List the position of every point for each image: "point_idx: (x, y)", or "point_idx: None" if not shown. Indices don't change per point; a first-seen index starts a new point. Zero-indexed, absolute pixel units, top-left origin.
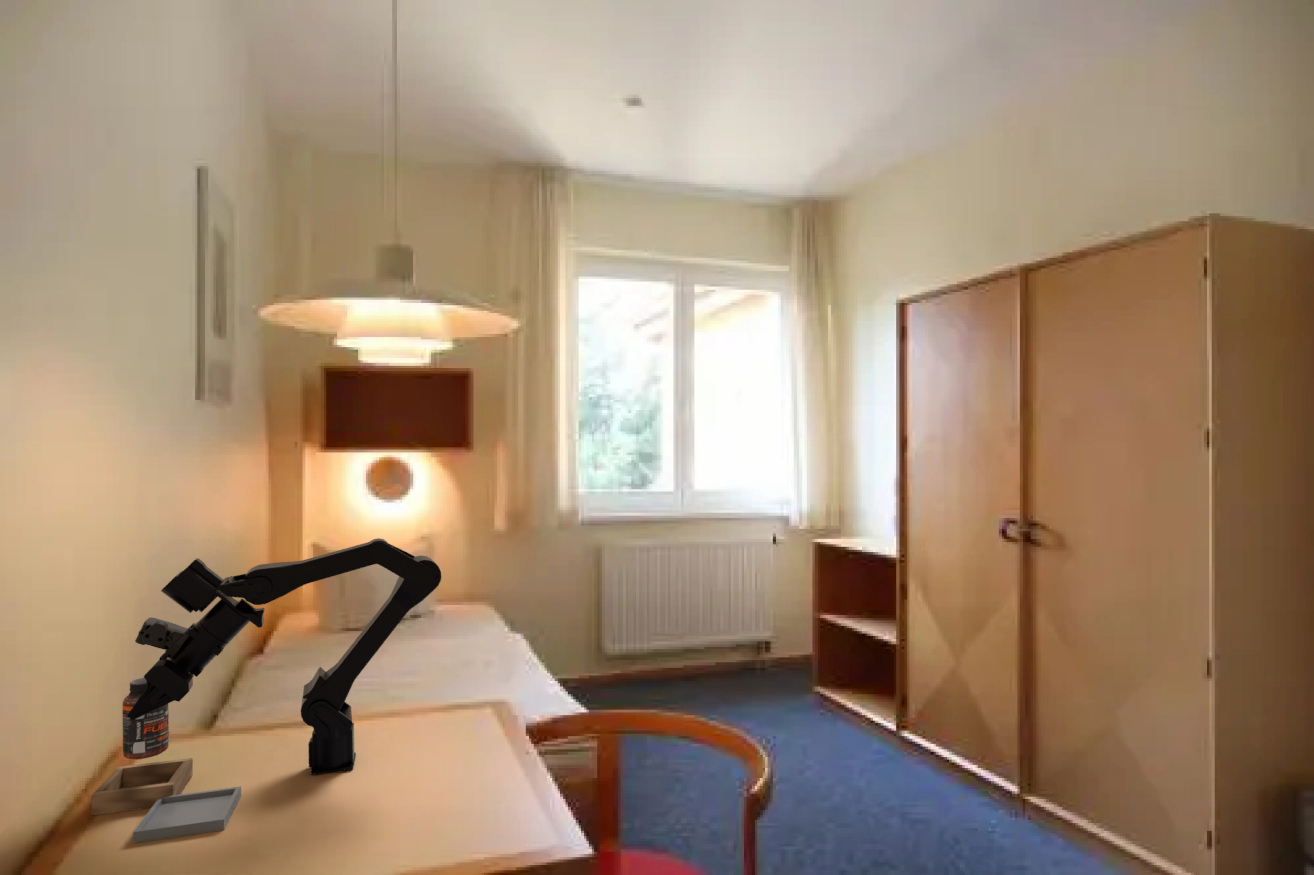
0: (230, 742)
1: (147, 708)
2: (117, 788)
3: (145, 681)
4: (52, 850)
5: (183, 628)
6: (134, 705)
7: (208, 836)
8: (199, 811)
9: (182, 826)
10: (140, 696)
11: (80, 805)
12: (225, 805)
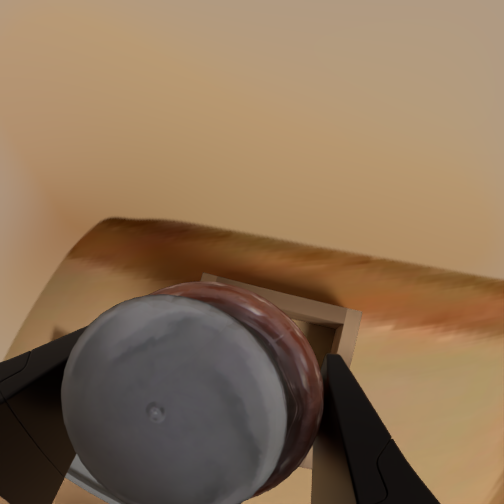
0: (462, 494)
1: None
2: (302, 319)
3: (106, 409)
4: (112, 241)
5: None
6: (71, 333)
7: None
8: None
9: None
10: (21, 354)
11: (282, 260)
12: (91, 477)
